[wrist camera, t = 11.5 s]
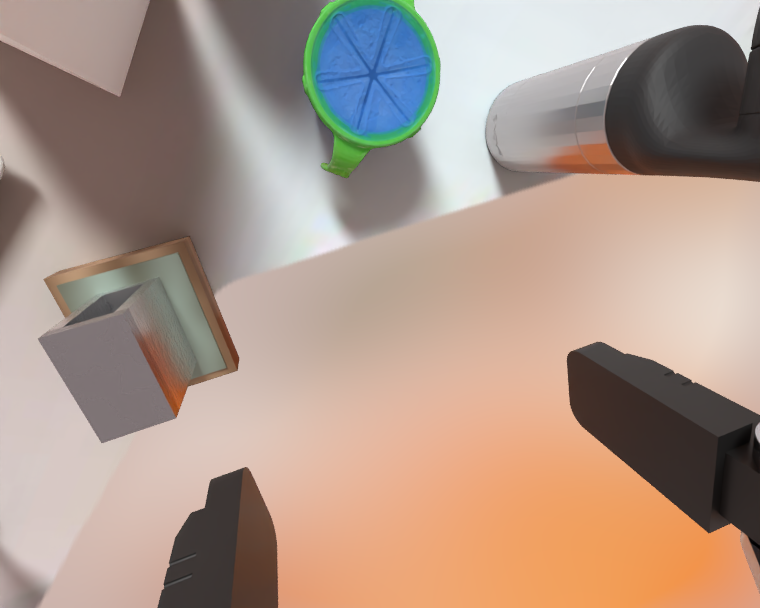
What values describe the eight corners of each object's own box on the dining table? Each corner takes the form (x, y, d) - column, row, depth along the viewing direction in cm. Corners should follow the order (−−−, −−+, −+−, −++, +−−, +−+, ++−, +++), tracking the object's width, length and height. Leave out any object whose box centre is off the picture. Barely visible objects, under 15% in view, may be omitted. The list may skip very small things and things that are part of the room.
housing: (159, 276, 38) (122, 313, 28) (197, 360, 41) (176, 418, 32) (96, 294, 37) (37, 338, 28) (140, 378, 40) (101, 443, 31)
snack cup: (334, -23, 37) (356, -87, 27) (431, 44, 40) (480, 7, 31) (268, 144, 40) (268, 138, 30) (365, 192, 43) (391, 200, 34)
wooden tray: (189, 236, 40) (182, 242, 37) (239, 358, 46) (237, 372, 43) (59, 271, 39) (41, 280, 36) (126, 393, 44) (116, 411, 41)
